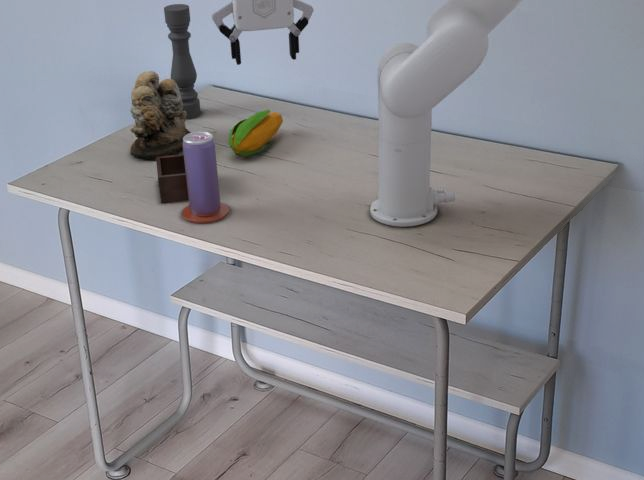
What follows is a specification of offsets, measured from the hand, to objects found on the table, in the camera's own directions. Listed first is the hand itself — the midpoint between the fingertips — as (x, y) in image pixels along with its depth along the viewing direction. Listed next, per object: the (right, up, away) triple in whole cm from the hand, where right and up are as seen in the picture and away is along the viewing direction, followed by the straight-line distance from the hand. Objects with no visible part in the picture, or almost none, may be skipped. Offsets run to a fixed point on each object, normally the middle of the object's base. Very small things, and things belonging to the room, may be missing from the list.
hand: (265, 59), depth 178 cm
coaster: (-12, -24, +19) cm, 33 cm away
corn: (-3, -6, +47) cm, 47 cm away
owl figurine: (-25, -6, +49) cm, 55 cm away
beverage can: (-12, -24, +19) cm, 33 cm away
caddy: (-17, -18, +29) cm, 38 cm away
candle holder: (-21, +5, +65) cm, 69 cm away
